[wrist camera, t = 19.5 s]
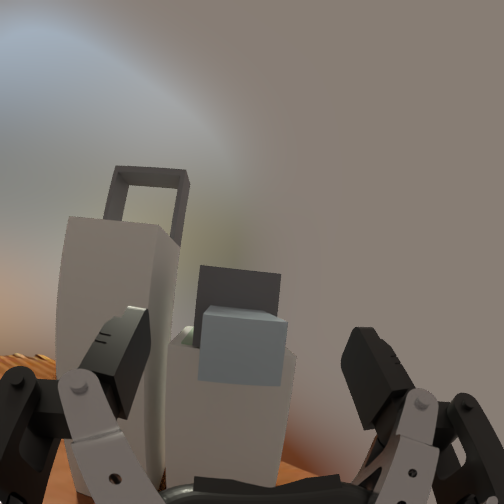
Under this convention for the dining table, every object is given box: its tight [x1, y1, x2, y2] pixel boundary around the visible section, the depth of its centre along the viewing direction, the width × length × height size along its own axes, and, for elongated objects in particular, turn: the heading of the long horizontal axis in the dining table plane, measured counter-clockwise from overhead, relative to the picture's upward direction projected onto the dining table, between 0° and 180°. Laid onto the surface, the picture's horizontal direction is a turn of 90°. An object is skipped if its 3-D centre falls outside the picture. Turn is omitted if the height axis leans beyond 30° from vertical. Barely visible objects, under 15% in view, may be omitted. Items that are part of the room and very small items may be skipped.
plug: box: [192, 265, 288, 386], centre depth 24 cm, size 19×7×7 cm, turn 6°
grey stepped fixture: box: [56, 166, 297, 497], centre depth 28 cm, size 13×22×41 cm, turn 96°
